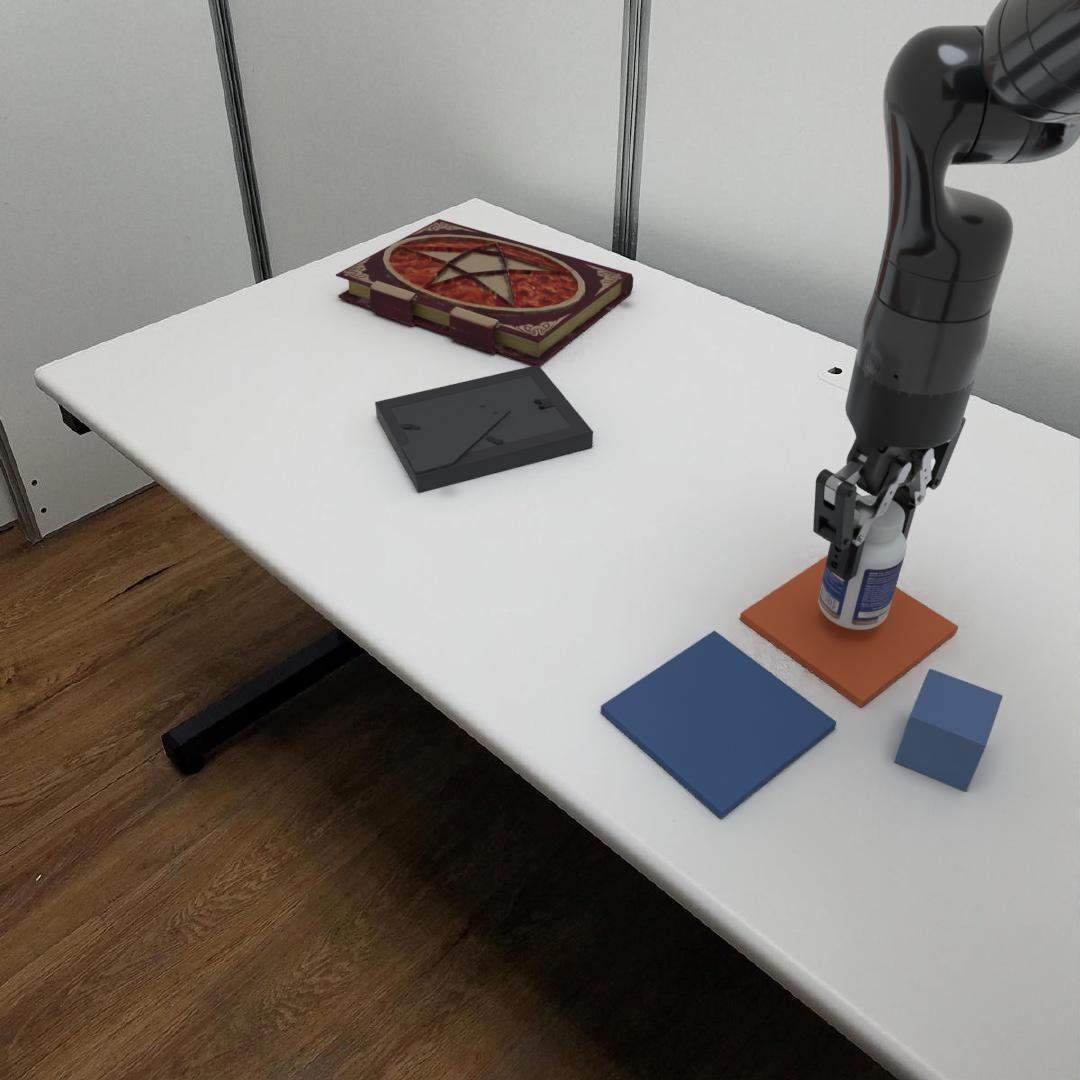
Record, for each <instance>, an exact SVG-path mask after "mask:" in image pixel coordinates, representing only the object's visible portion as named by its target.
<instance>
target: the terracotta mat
mask: <svg viewBox="0 0 1080 1080" xmlns="http://www.w3.org/2000/svg"><path fill="white" fill-rule="evenodd" d="M827 556H828V554H826V555H825V556H824V557H822V558H821V559H820V560H818V561H817V562H815V563H814V564H812V565H810V566H809V567H807V568H806V569H804V570H803V571H802V572H800V573H798V574H797V575H796V576H794V577H793V578H791V579H789V580H788V581H786V582H785V583H784V584H782V585H780V586H779V587H777V588H776V589H774V590H773V591H771V592H770V593H768V594H767V595H766V596H764V597H762V598H761V599H760V600H759V599H758V601H756V602H755V603H753V604H752V605H750V606H749V607H747V608H745V609H744V610H743V611H741V612H740V616H739V620H740V621H741V622H742V623H744V624H745V625H747V626H748V627H749V628H750V629H752V630H753V631H755V632H756V633H758V634H759V635H760V636H761V637H763V638H764V639H765V640H767V641H768V642H770V643H771V644H773V645H774V646H775V647H776V648H778V649H779V650H781V651H782V652H784V653H785V654H787V656H788V657H790V658H792V660H794V661H796V663H799V665H801V666H803V667H804V668H806V669H807V670H808V671H810V672H811V673H812V674H814V675H815V676H816V677H818V678H819V679H820V680H822V681H823V682H824V683H826V684H828V685H829V686H830V687H832V689H834V690H836V692H839V693H840V694H841V695H843V696H844V697H845V698H846V699H848V700H849V701H850V702H852V703H854V705H856V706H857V707H859V708H860V709H862V708H863V707H865V706H866V705H867V704H869V703H870V702H871V701H872V700H873V699H874V698H876V697H877V696H879V695H880V694H881V693H882V692H884V691H885V690H886V689H887V688H889V687H890V686H891V685H892V684H894V683H895V682H897V680H899V679H900V678H901V677H903V676H904V675H905V674H906V673H908V672H909V671H910V670H911V669H913V668H914V667H916V665H918V664H920V662H922V661H923V660H924V659H925V658H926V657H928V656H929V655H930V654H932V653H933V652H934V651H936V650H937V649H938V648H939V647H941V646H942V645H943V644H945V643H946V642H947V641H948V640H949V639H951V638H952V637H953V636H954V635H955V634H957V632H958V629H959V626H958V625H957V624H955V622H953V621H951V620H949V619H948V618H946V617H945V616H943V615H942V614H941V613H938V612H936V611H935V610H933V609H932V608H930V607H929V606H927V605H925V604H924V603H922V602H921V601H919V600H918V599H916V598H915V597H913V596H911V595H910V594H908V593H906V592H905V591H903V590H902V589H901V588H899V587H897V586H896V588H895V592H894V595H893V599H892V602H891V606H890V609H889V612H888V615H887V617H886V619H885V620H884V621H883V622H882V623H881V624H880V625H878V626H876V627H874V628H871V629H866V630H854V629H849V628H845V627H842V626H840V625H837V624H836V623H834V622H832V621H830V620H829V619H828V618H827V617H826V616H825V615H824V614H823V612H822V611H821V609H820V606H819V594H820V588H821V583H822V579H823V574H824V569H825V565H826V560H827Z"/></svg>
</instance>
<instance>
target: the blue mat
mask: <svg viewBox="0 0 1080 1080" xmlns="http://www.w3.org/2000/svg"><path fill="white" fill-rule="evenodd" d="M600 714H601V715H602V716H604V717H605V718H606V719H607V720H608V721H609V722H610V723H611V724H613V725H614V726H615V727H616V728H617V729H619V731H621V732H622V733H623V734H624V735H625V736H626V737H627V738H629V739H630V741H631V742H633V743H634V744H635V745H636V746H638V748H640V749H641V750H642V751H643V752H644V753H645V754H646V755H648V756H649V757H650V759H652V760H653V761H654V762H655V763H657V764H658V765H659V766H660V767H661V768H662V769H663V770H664V771H665V772H667V773H668V774H669V775H670V776H671V777H673V778H674V780H676V781H677V782H678V783H679V785H682V786H683V788H685V789H686V790H687V791H688V792H689V793H690V794H692V795H693V796H694V797H695V798H696V800H698V801H699V802H700V803H702V804H703V805H704V806H705V807H706V808H707V809H708V810H710V811H711V812H712V813H713V814H715V816H716V817H718V818H719V819H720V820H721V819H723V818H724V817H726V816H727V815H728V814H729V813H731V812H732V811H733V810H734V809H735V808H737V807H738V806H739V805H741V804H742V803H743V802H744V801H746V800H747V799H748V798H749V797H751V796H752V795H753V794H754V793H756V792H757V791H759V790H760V789H761V788H763V786H764V785H766V784H767V783H768V782H770V781H771V780H772V779H774V778H775V777H776V776H777V775H778V774H780V773H781V772H782V771H784V770H785V769H786V768H788V767H789V766H790V765H791V764H792V763H793V762H795V761H796V760H798V759H799V758H800V757H801V756H803V755H804V754H805V753H807V751H809V750H810V749H811V748H813V747H814V746H815V745H816V744H818V743H820V741H822V740H823V739H824V738H825V737H827V736H828V735H829V734H831V733H832V732H833V731H834V730H835V729H836V726H837V724H838V723H837V721H836V720H834V719H833V718H832V717H831V716H830V715H828V714H826V713H825V712H824V711H823V710H822V709H820V708H819V707H817V706H816V705H814V704H813V703H812V702H811V701H810V700H808V699H807V698H805V697H804V696H802V694H800V693H798V692H797V691H796V690H795V689H793V688H792V687H791V686H789V685H788V684H786V683H785V682H784V681H783V680H781V679H780V678H779V677H778V676H777V675H774V674H773V673H772V672H771V671H769V670H768V669H767V668H765V667H764V666H762V665H761V664H760V663H759V662H758V661H756V660H755V659H753V658H752V657H751V656H750V655H748V654H747V653H745V652H744V651H742V649H740V648H738V647H737V646H736V645H735V644H734V643H732V641H729V640H728V639H727V638H725V637H724V636H723V635H721V634H720V633H719V632H717V631H716V630H712V631H711V632H710V633H708V634H707V635H706V636H704V637H702V638H701V639H699V640H698V641H696V642H694V643H693V644H692V645H690V646H689V647H687V648H685V649H684V650H682V651H681V652H680V653H678V654H676V655H675V656H674V657H672V658H671V659H669V660H668V661H666V662H665V663H662V665H660V666H658V667H656V669H654V670H652V671H651V672H649V673H648V674H646V675H644V677H642V678H640V679H639V680H637V681H636V682H635V683H633V684H631V685H630V686H627V688H625V689H623V690H622V691H621V692H620V693H618V694H616V695H615V696H613V697H612V698H610V699H609V700H607V701H606V702H604V703H603V704H601V705H600Z"/></svg>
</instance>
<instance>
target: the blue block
mask: <svg viewBox="0 0 1080 1080" xmlns="http://www.w3.org/2000/svg"><path fill="white" fill-rule="evenodd" d="M1002 700H1003V695H1002V694H1000V693H997V692H995V691H992V690H989V689H987V688H984V687H982V686H978V685H977V684H973V683H971V682H968V681H965V680H963V679H960V678H957V677H954V676H952V675H949V674H946V673H943V672H941V671H938V670H936V669H933V668H929V669H928V671H927V673H926V675H925V678H924V680H923V683H922V685H921V687H920V690H919V692H918V695H917V697H916V699H915V702H914V704H913V707H912V709H911V712H910V714H909V717H908V720H907V722H906V726H905V729H904V731H903V734H902V737H901V740H900V743H899V746H898V749H897V752H896V755H895V758H894V761H893V762H894V763H895V764H898V765H900V766H902V767H905V768H908V769H910V770H913V771H915V772H918V773H920V774H921V775H922V774H923V775H925V776H927V777H930V778H933V779H934V780H937V781H939V782H942V783H944V784H947V785H949V786H952V787H953V788H956V789H959V790H961V791H963V792H967V791H968V790H969V787H970V786H971V782H972V781H973V778H974V775H975V773H976V771H977V768H978V766H979V764H980V761H981V759H982V756H983V755H984V752H985V749H986V747H987V745H988V741H989V738H990V736H991V733H992V731H993V727H994V723H995V721H996V717H997V714H998V712H999V709H1000V706H1001V703H1002Z"/></svg>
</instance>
